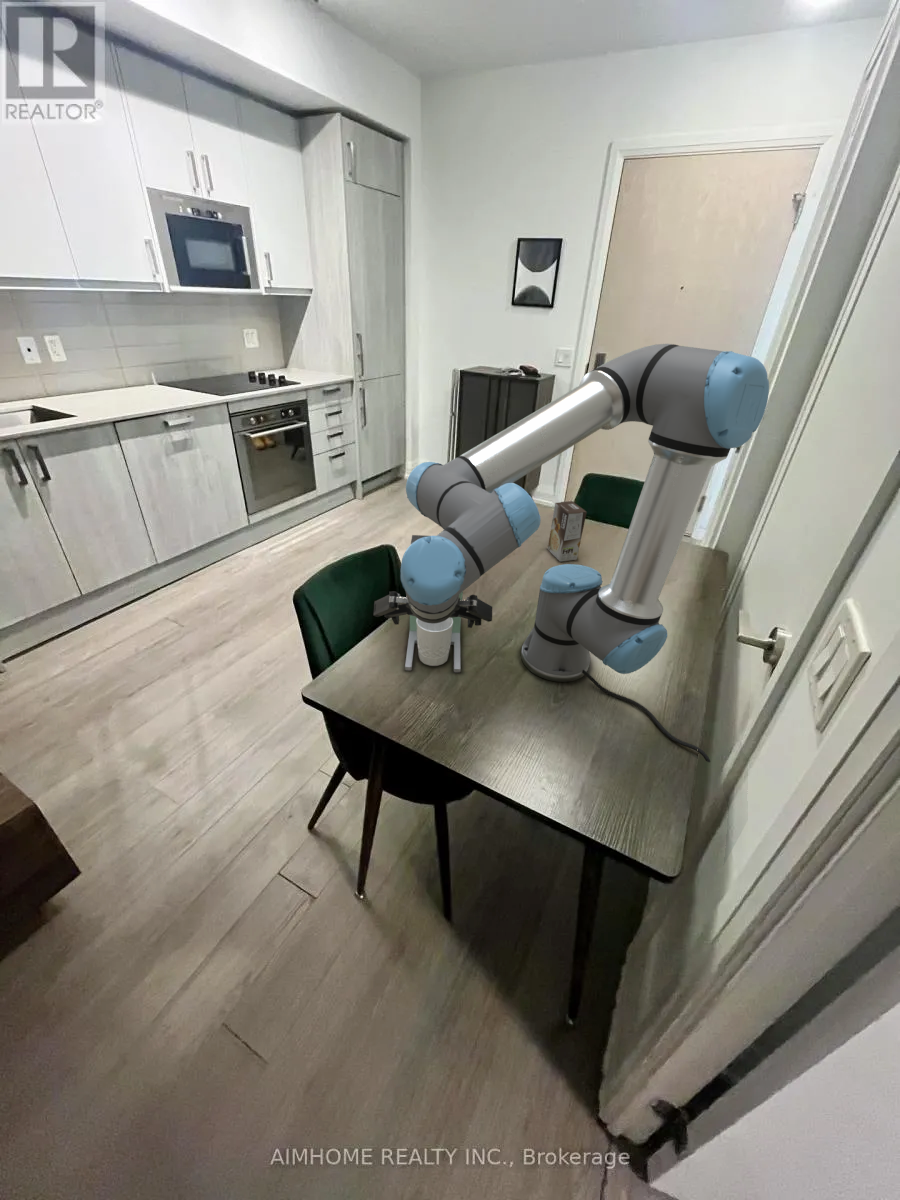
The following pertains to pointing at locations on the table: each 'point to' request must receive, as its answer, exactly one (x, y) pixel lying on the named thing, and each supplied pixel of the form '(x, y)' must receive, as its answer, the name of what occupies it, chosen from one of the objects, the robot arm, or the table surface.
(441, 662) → the white cup
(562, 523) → the coffee box
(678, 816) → the table surface
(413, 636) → the coffee machine
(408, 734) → the table surface
